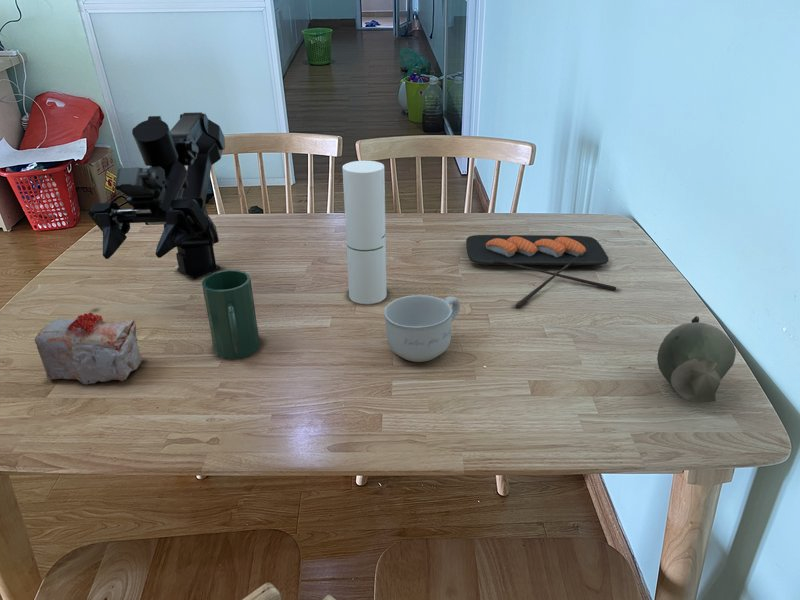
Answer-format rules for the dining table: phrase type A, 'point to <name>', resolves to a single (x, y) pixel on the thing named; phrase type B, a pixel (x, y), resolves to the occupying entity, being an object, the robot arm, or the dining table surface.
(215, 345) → the mug
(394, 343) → the teacup
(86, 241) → the dining table surface
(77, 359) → the food item
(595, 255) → the sushi plate
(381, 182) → the cylindrical container
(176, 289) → the dining table surface
